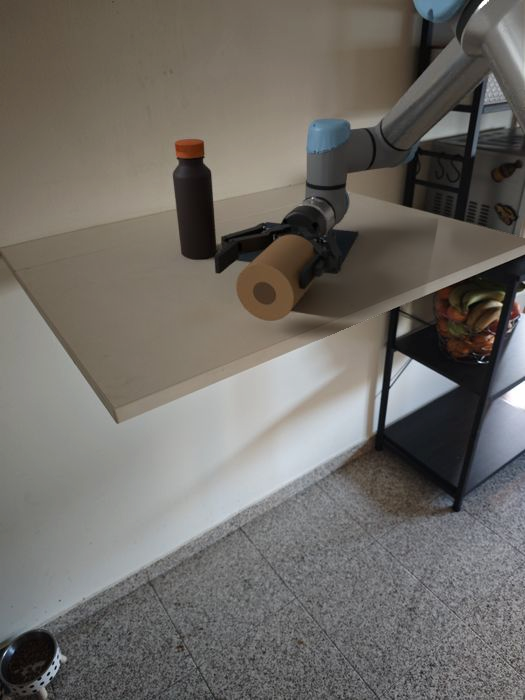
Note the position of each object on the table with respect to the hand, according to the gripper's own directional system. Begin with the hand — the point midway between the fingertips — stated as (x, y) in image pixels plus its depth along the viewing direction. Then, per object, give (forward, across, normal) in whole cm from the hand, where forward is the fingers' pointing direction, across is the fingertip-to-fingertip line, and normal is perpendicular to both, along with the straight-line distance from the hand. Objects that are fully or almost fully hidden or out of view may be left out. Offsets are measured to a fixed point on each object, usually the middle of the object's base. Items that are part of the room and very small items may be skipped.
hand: (258, 272), depth 72 cm
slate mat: (-27, -4, +6) cm, 28 cm away
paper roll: (-4, +2, +2) cm, 5 cm away
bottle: (-16, -20, +7) cm, 27 cm away
